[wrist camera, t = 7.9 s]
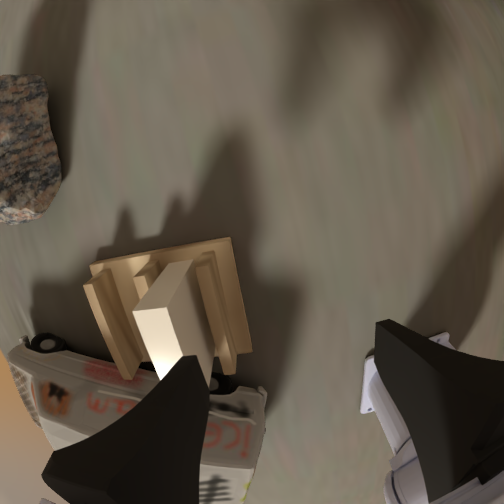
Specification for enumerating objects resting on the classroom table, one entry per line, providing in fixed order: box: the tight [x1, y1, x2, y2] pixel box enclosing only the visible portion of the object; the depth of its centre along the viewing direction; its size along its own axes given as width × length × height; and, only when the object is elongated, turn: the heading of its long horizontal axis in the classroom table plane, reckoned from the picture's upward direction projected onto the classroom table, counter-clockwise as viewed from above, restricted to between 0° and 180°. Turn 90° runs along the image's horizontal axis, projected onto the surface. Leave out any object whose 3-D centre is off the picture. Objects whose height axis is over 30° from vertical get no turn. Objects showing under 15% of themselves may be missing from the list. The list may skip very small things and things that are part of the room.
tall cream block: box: [132, 259, 216, 387], centre depth 17 cm, size 2×7×7 cm, turn 10°
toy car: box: [7, 333, 267, 504], centre depth 20 cm, size 11×25×10 cm, turn 83°
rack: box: [83, 237, 252, 380], centre depth 19 cm, size 11×9×4 cm
